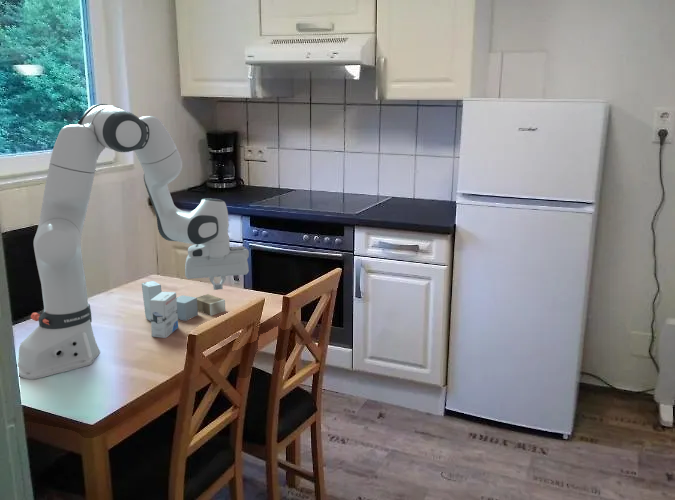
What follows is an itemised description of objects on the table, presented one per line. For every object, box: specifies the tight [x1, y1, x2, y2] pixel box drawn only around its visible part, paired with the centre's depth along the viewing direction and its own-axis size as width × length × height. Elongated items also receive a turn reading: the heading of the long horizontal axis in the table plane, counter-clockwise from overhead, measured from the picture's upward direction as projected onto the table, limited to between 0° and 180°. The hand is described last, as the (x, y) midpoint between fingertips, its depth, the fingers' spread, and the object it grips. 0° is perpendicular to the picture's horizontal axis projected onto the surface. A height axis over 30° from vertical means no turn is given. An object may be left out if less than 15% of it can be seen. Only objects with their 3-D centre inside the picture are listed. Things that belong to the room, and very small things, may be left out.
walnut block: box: [196, 293, 226, 316], centre depth 210 cm, size 6×4×9 cm
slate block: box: [176, 294, 199, 322], centre depth 204 cm, size 6×6×6 cm
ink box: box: [150, 291, 179, 339], centre depth 190 cm, size 9×5×12 cm, turn 168°
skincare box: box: [141, 280, 163, 322], centre depth 201 cm, size 6×4×12 cm
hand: (218, 289), depth 205 cm, fingers closed
